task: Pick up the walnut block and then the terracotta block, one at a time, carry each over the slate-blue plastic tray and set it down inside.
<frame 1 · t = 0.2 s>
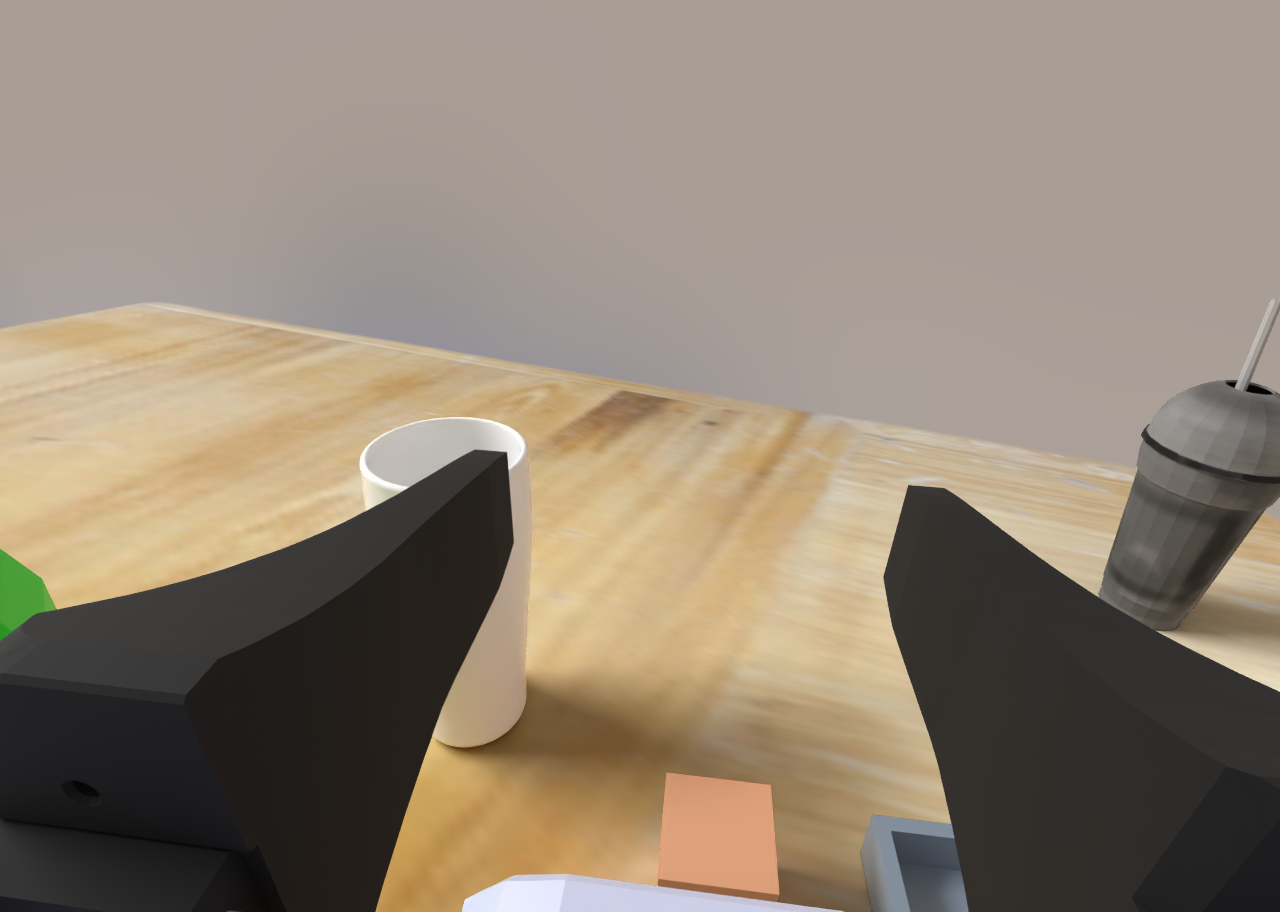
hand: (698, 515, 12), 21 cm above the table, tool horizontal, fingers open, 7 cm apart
terracotta block: (706, 907, 26), on the table
drinking glass: (474, 711, 34), on the table
beverage cup: (1137, 608, 43), on the table
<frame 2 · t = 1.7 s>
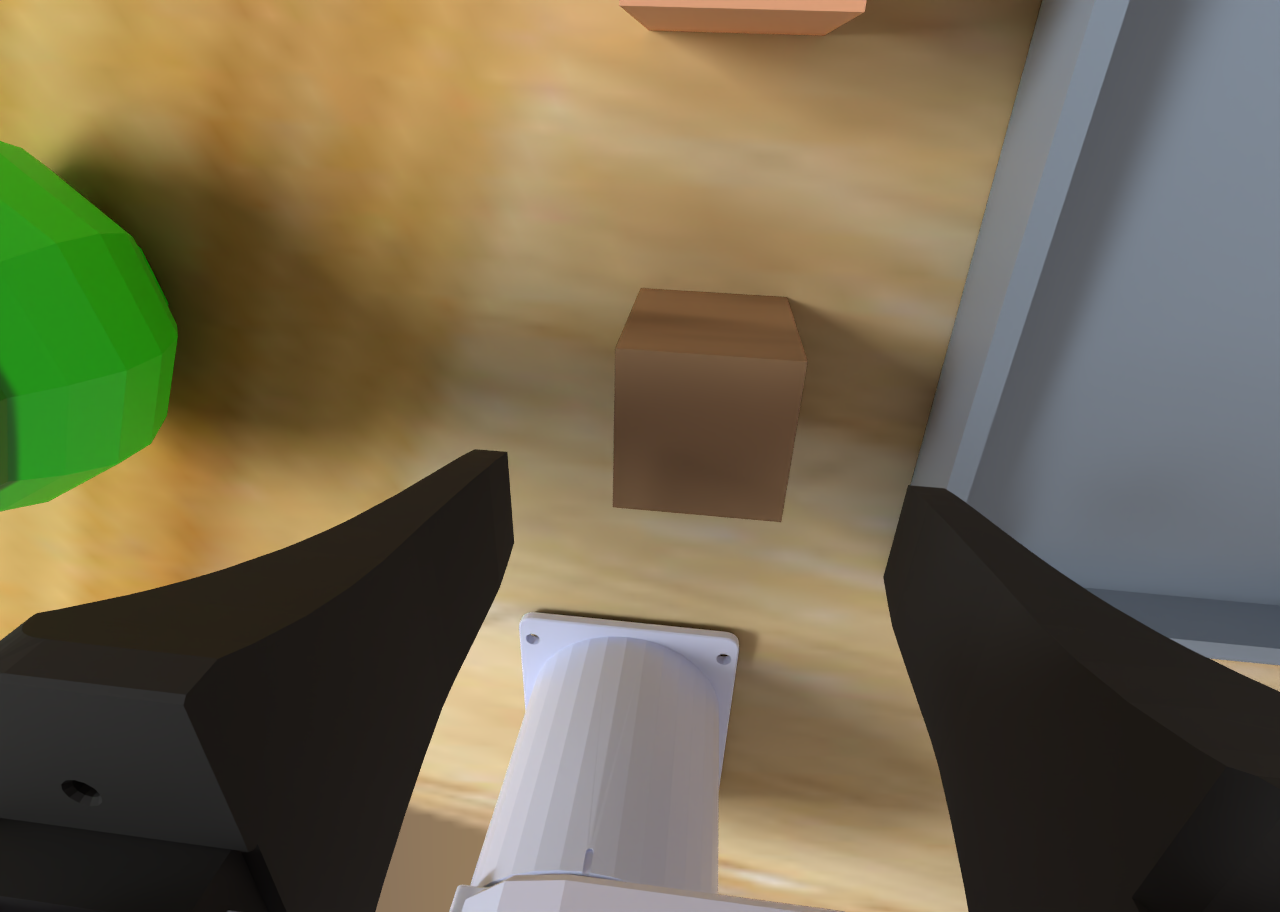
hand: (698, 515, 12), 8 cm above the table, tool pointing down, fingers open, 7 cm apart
tray: (1259, 286, 16), on the table
plastic bottle: (89, 285, 20), on the table
walnut block: (707, 361, 19), on the table
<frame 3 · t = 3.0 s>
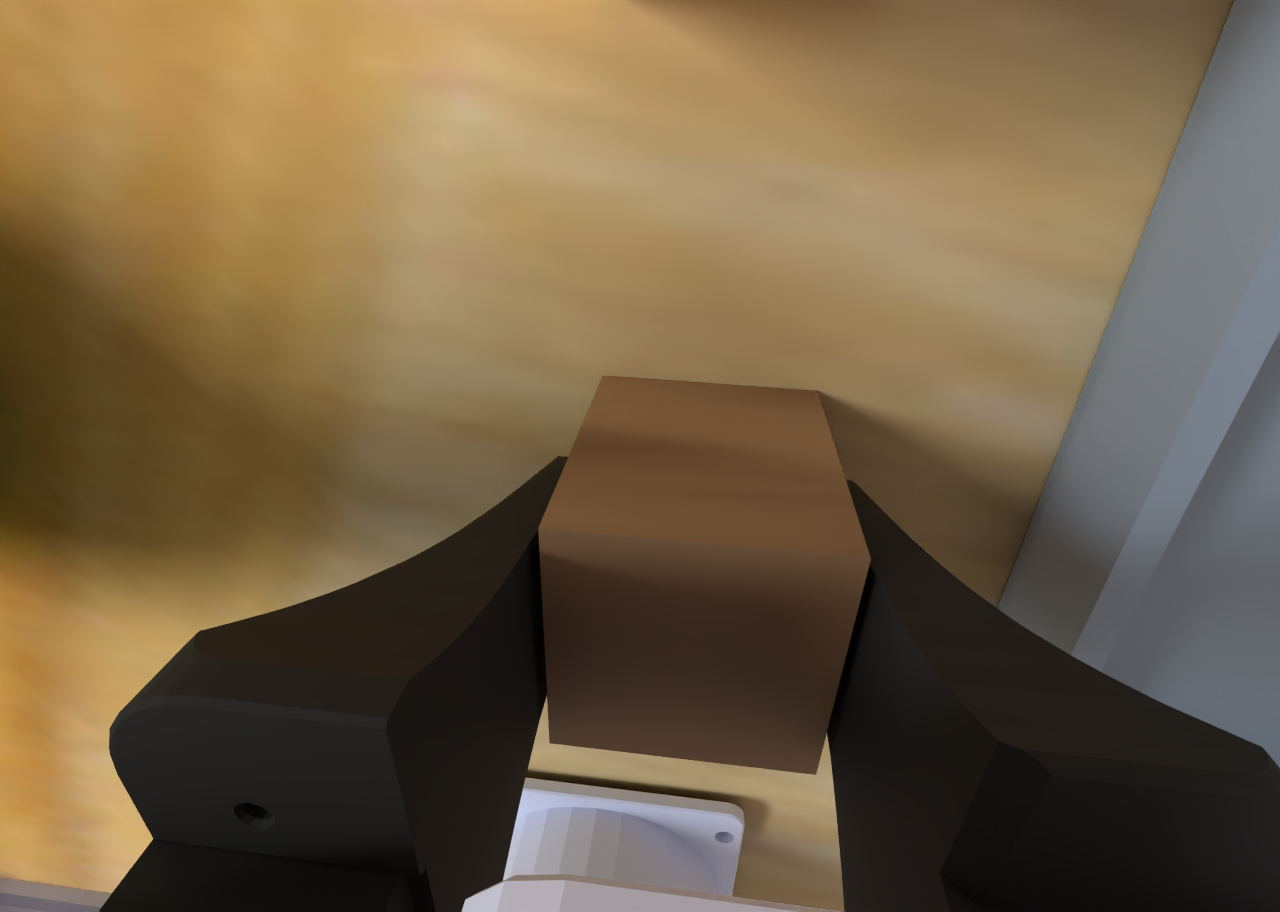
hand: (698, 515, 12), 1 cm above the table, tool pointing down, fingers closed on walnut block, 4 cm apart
walnut block: (700, 475, 13), on the table, touching gripper
when the fingers open (4 cm above the table, at t = 6.1 s): walnut block drops 2 cm, resting on tray.
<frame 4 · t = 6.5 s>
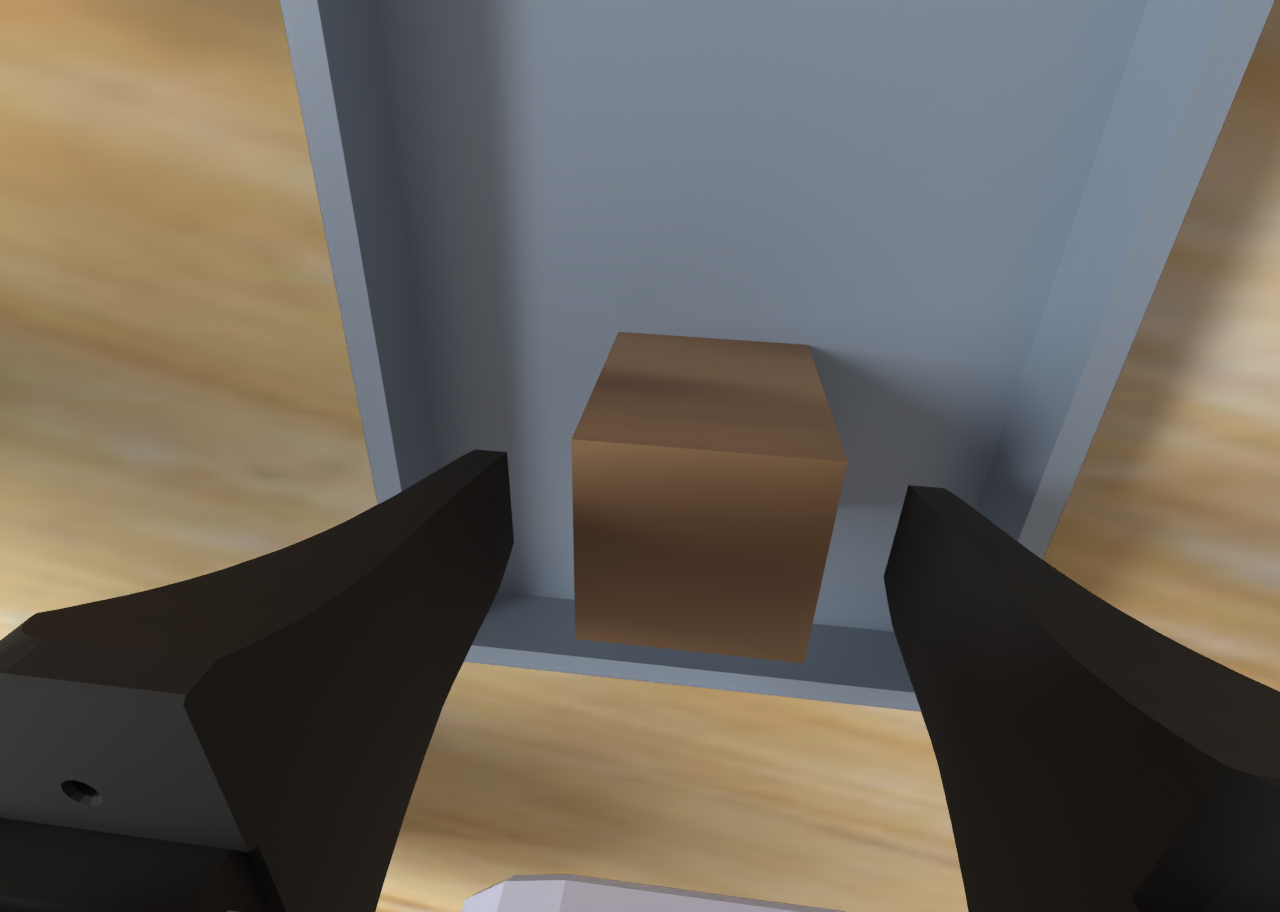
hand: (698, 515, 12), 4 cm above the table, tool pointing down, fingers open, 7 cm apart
tray: (719, 246, 13), on the table
walnut block: (704, 423, 15), resting on tray
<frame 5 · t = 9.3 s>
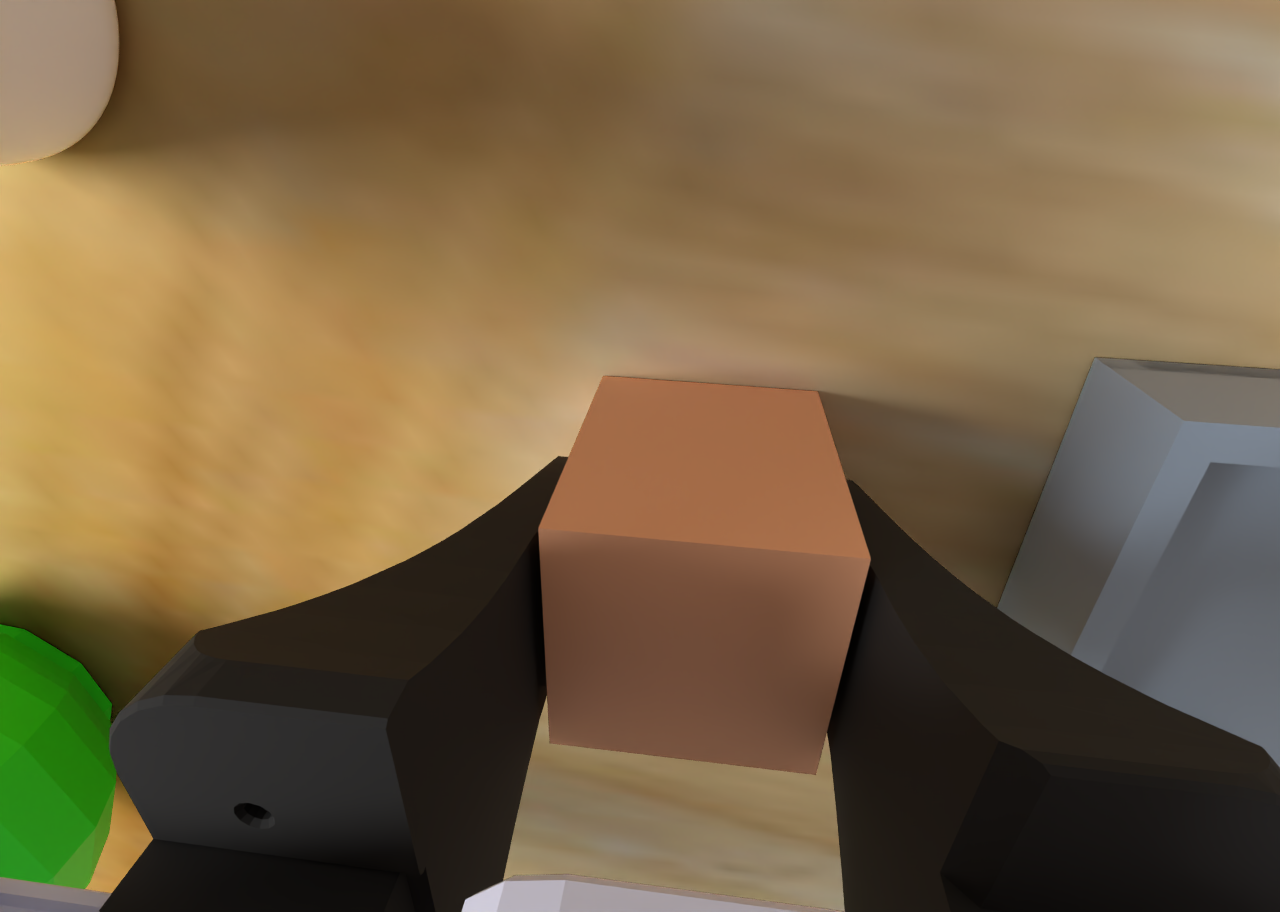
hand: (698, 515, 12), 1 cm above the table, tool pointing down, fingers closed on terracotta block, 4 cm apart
terracotta block: (700, 475, 13), on the table, touching gripper
tray: (1249, 777, 16), on the table
plastic bottle: (30, 681, 19), on the table
when the fingers open (4 cm above the table, at t = 12.6 s): terracotta block drops 2 cm, resting on tray.
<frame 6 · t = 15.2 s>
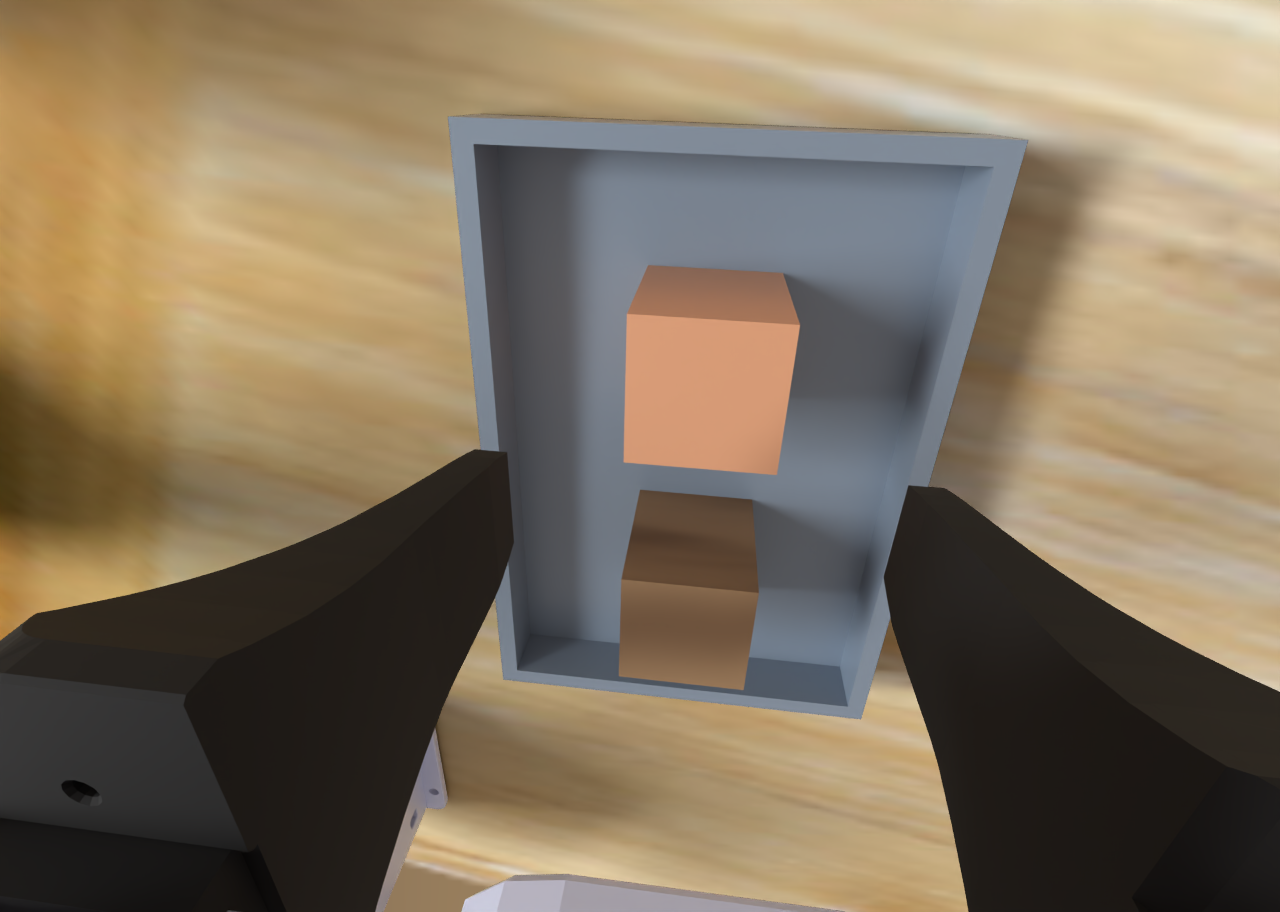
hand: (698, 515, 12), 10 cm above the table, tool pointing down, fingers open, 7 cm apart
terracotta block: (709, 333, 21), resting on tray
tray: (699, 443, 23), on the table
walnut block: (691, 539, 24), resting on tray
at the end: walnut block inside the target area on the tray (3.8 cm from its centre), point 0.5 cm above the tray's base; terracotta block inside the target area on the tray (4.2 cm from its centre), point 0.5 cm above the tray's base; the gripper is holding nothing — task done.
